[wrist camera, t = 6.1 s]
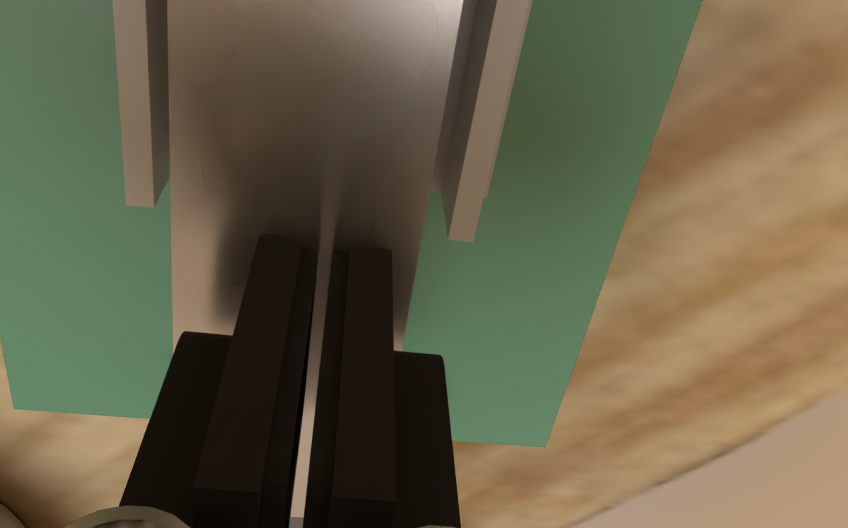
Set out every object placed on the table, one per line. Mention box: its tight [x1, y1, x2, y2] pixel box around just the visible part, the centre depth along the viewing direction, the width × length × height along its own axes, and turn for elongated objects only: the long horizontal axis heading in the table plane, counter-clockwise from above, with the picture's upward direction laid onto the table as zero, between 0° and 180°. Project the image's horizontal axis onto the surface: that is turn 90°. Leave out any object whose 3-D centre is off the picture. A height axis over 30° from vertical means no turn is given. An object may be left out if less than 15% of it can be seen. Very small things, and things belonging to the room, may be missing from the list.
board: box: [0, 0, 703, 528], centre depth 10 cm, size 20×12×7 cm, turn 171°
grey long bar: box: [167, 0, 463, 518], centre depth 9 cm, size 15×3×2 cm, turn 171°
